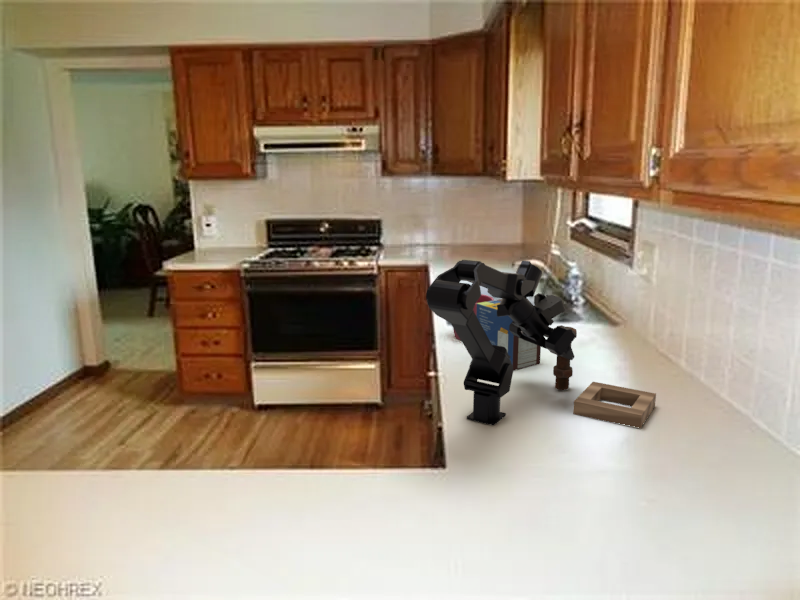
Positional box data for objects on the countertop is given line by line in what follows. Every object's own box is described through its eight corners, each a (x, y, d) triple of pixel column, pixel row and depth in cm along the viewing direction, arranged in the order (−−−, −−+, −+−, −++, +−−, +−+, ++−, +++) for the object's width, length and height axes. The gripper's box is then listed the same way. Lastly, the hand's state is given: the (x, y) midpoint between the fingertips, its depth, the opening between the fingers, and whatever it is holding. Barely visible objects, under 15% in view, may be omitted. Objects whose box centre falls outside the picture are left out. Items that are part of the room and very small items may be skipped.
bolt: (573, 394, 143) (577, 332, 139) (551, 392, 144) (554, 331, 140) (571, 385, 148) (575, 326, 145) (550, 383, 149) (553, 325, 146)
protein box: (502, 349, 176) (503, 297, 173) (540, 364, 164) (543, 308, 160) (474, 356, 171) (475, 302, 167) (512, 371, 158) (514, 314, 155)
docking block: (640, 429, 124) (641, 415, 123) (573, 413, 132) (573, 401, 131) (654, 406, 135) (656, 393, 135) (592, 393, 143) (592, 381, 142)
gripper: (571, 294, 129) (608, 337, 136) (521, 278, 146) (556, 317, 153) (539, 333, 128) (578, 375, 135) (492, 313, 145) (529, 351, 152)
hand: (560, 352), depth 144 cm, fingers open, 9 cm apart
